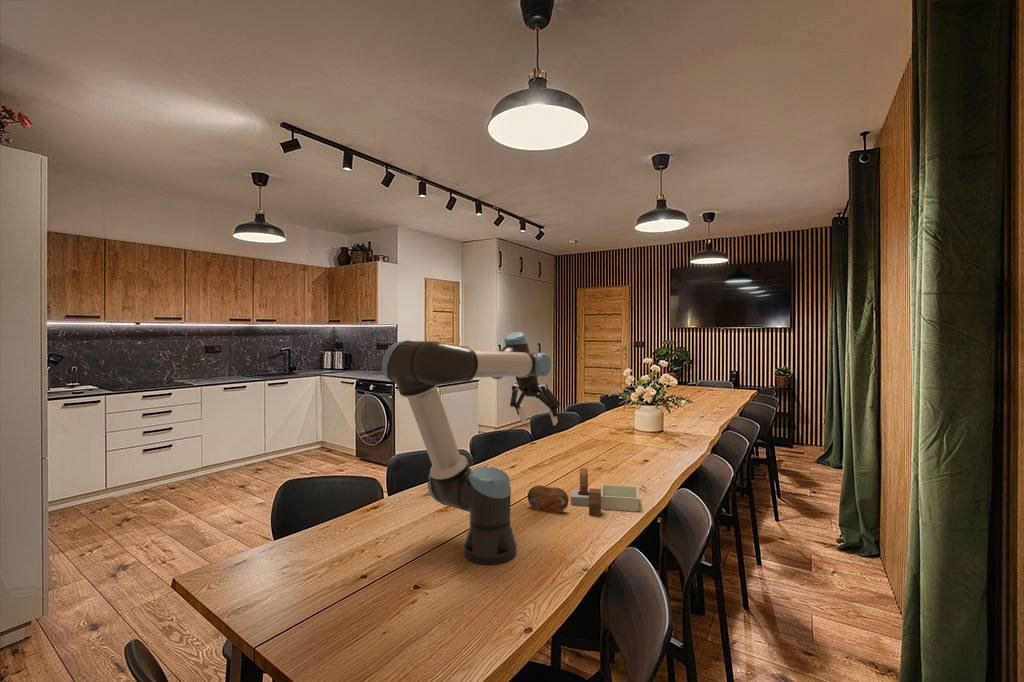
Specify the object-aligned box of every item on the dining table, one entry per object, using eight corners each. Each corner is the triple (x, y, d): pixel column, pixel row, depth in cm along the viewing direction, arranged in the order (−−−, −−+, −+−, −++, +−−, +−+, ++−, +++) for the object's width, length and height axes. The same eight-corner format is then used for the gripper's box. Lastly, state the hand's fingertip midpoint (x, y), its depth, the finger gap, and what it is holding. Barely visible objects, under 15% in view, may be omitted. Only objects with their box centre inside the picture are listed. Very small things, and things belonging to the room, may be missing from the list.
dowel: (587, 503, 177) (587, 470, 177) (579, 502, 177) (579, 470, 177) (588, 500, 180) (588, 468, 179) (580, 499, 180) (580, 468, 180)
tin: (527, 508, 172) (527, 484, 172) (531, 505, 175) (530, 482, 175) (566, 515, 165) (566, 491, 165) (569, 512, 168) (569, 488, 168)
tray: (638, 511, 168) (638, 498, 168) (600, 508, 171) (600, 496, 171) (637, 498, 181) (637, 486, 181) (601, 496, 184) (601, 484, 184)
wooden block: (600, 515, 164) (600, 492, 164) (589, 514, 165) (588, 492, 165) (600, 511, 168) (600, 488, 168) (589, 510, 169) (589, 488, 169)
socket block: (595, 506, 173) (595, 498, 173) (570, 504, 175) (570, 496, 175) (596, 498, 182) (596, 490, 182) (572, 496, 184) (572, 488, 184)
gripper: (560, 368, 169) (573, 418, 176) (501, 368, 182) (516, 415, 190) (551, 378, 163) (565, 430, 171) (491, 378, 176) (507, 426, 184)
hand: (539, 422), depth 180 cm, fingers open, 13 cm apart
